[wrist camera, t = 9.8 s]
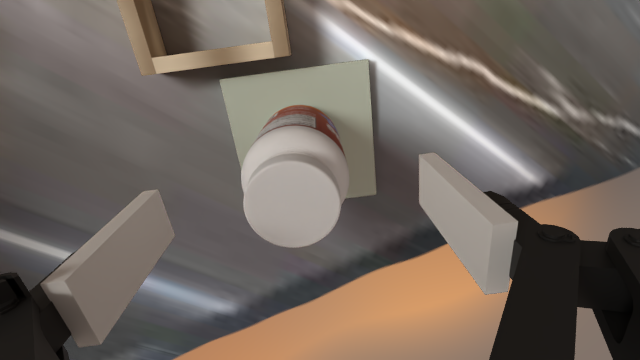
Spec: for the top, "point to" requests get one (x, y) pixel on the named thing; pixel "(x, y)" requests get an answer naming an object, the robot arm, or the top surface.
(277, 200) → the pill bottle
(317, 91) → the coaster
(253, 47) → the pocket frame
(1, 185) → the top surface
